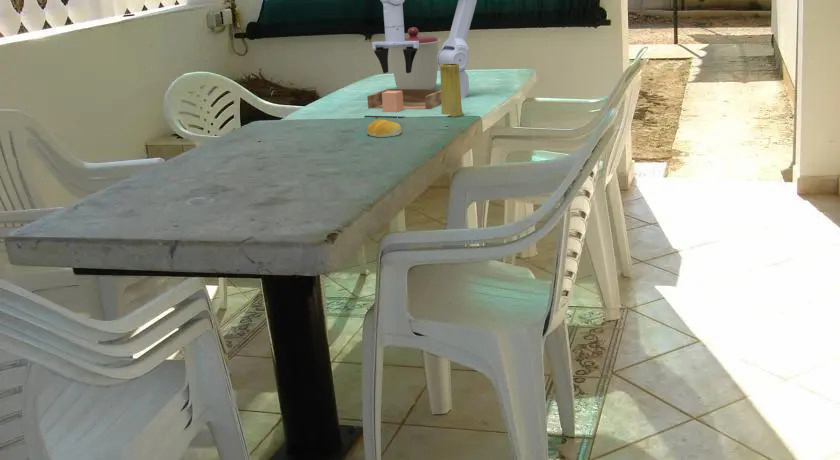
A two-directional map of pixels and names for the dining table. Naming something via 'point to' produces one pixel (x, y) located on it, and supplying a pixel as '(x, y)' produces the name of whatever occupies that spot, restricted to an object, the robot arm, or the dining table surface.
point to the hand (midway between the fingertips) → (397, 72)
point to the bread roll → (383, 128)
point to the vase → (450, 90)
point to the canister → (417, 62)
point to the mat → (384, 116)
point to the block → (392, 101)
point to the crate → (410, 98)
